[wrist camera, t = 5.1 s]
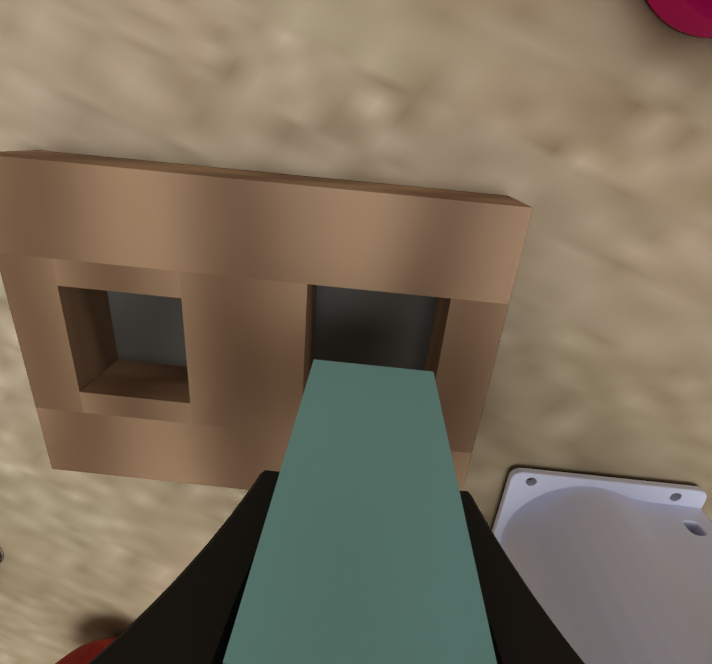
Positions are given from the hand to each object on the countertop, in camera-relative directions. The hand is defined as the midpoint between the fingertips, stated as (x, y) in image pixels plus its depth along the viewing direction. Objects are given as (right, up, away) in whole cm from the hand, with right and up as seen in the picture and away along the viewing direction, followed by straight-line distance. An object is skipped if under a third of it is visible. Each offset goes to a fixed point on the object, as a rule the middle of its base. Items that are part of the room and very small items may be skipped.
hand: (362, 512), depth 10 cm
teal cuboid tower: (0, +1, +3) cm, 4 cm away
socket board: (-4, +4, +9) cm, 11 cm away
